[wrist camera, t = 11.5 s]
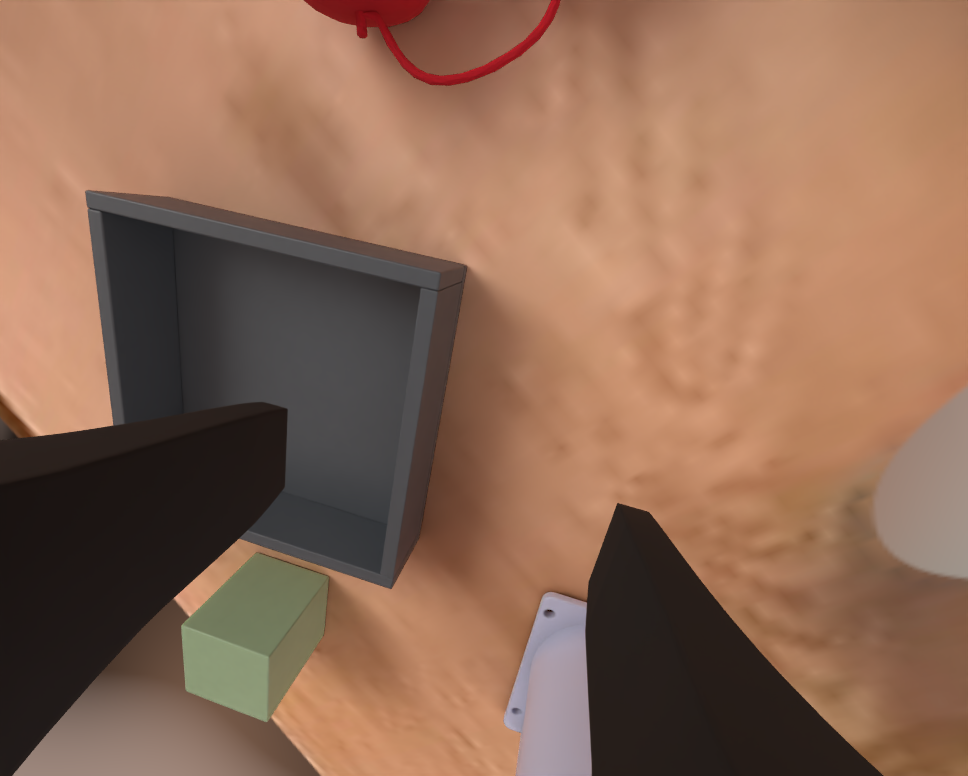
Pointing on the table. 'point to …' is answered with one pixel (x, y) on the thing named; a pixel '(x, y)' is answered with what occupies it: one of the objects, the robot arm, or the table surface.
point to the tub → (287, 360)
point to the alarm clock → (396, 3)
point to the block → (255, 635)
